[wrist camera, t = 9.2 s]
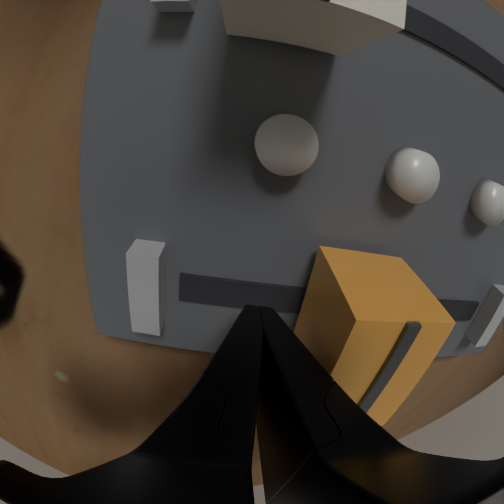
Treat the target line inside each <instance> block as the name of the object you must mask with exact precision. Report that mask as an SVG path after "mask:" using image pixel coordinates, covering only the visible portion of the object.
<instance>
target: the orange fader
mask: <svg viewBox="0 0 504 504" xmlns="http://www.w3.org/2000/svg"><path fill="white" fill-rule="evenodd" d="M455 324H456V322H455V321H454V320H453V318H452V317H451V316H450V314H449V313H448V312H447V311H446V309H445V308H444V307H443V306H442V304H441V303H440V302H439V301H438V300H437V298H436V297H435V296H434V295H433V293H432V292H431V291H430V290H429V289H428V288H427V286H426V285H425V284H424V283H423V282H422V280H421V279H420V278H419V277H418V276H417V275H416V274H415V272H414V271H413V270H412V269H411V268H410V267H409V266H408V265H407V263H406V262H405V261H404V260H403V259H402V258H401V257H394V256H388V255H381V254H374V253H367V252H361V251H354V250H347V249H340V248H333V247H326V246H319V248H318V252H317V255H316V259H315V263H314V266H313V270H312V273H311V277H310V280H309V283H308V287H307V290H306V294H305V297H304V300H303V303H302V307H301V310H300V313H299V316H298V320H297V323H296V326H295V329H294V333H295V335H296V336H297V337H298V338H299V339H300V340H301V342H302V343H303V344H304V345H305V346H306V347H307V349H308V350H309V351H310V352H311V353H312V354H313V356H314V357H315V358H316V359H317V360H318V361H319V363H320V364H321V365H322V366H323V367H324V368H325V370H326V371H327V372H328V373H329V374H330V375H331V376H332V378H333V379H334V380H333V381H336V382H337V383H338V384H339V386H340V387H341V388H342V389H343V390H344V391H345V392H346V393H347V394H348V395H349V397H350V398H351V399H352V400H353V401H354V402H355V403H356V404H357V405H358V406H359V407H360V408H361V409H362V410H364V411H365V412H366V413H367V414H368V415H369V416H370V417H371V418H372V419H373V420H374V421H376V422H377V423H378V424H379V425H380V426H382V425H384V424H385V423H386V422H387V421H388V420H389V419H390V417H391V416H392V415H393V414H394V412H395V411H396V410H397V409H398V408H399V406H400V405H401V404H402V403H403V401H404V400H405V399H406V397H407V396H408V395H409V393H410V392H411V391H412V389H413V388H414V387H415V385H416V384H417V383H418V381H419V380H420V379H421V377H422V376H423V374H424V373H425V371H426V370H427V368H428V367H429V366H430V364H431V363H432V361H433V360H434V358H435V356H436V355H437V353H438V352H439V350H440V349H441V347H442V346H443V344H444V342H445V341H446V339H447V337H448V336H449V334H450V332H451V331H452V329H453V327H454V325H455Z"/></svg>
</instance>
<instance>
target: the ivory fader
mask: <svg viewBox="0 0 504 504" xmlns="http://www.w3.org/2000/svg"><path fill="white" fill-rule="evenodd" d="M219 1H220V6H221V11H222V15H223V20H224V25H225V29H226V34H227V35H236V36H244V37H252V38H258V39H265V40H271V41H276V42H282V43H287V44H292V45H297V46H301V47H306V48H310V49H314V50H318V51H322V52H326V53H329V54H333V55H337V56H340V57H341V56H343V55H345V54H347V53H349V52H351V51H353V50H356V49H358V48H360V47H362V46H364V45H367V44H369V43H371V42H374V41H376V40H378V39H381V38H383V37H386V36H388V35H391V34H393V33H396V32H398V31H401V30H404V27H405V16H406V3H407V0H219Z"/></svg>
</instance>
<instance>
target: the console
mask: <svg viewBox="0 0 504 504" xmlns="http://www.w3.org/2000/svg"><path fill="white" fill-rule="evenodd" d="M80 204H81V222H82V236H83V247H84V256H85V265H86V273H87V280H88V287H89V293H90V299H91V305H92V311H93V316H94V321H95V326H96V331H97V333H98V334H102V335H107V336H112V337H117V338H122V339H127V340H132V341H137V342H143V343H148V344H154V345H160V346H167V347H173V348H180V349H187V350H194V351H202V352H210V353H215V352H216V351H217V349H218V348H219V346H220V345H221V343H222V341H223V340H224V338H225V337H226V335H227V333H228V332H229V330H230V329H231V327H232V325H233V324H234V322H235V321H236V319H237V317H238V316H239V314H240V313H241V311H242V309H243V308H244V306H245V305H247V304H248V305H257V306H267V307H272V308H273V309H274V310H275V311H276V312H277V313H278V315H279V316H280V317H281V318H282V319H283V320H284V322H285V323H286V324H287V325H288V326H289V328H290V329H291V330H292V331H293V332H294V329H295V326H296V323H297V320H298V316H299V313H300V310H301V307H302V303H303V300H304V297H305V294H306V290H307V287H308V283H309V280H310V277H311V273H312V270H313V266H314V263H315V259H316V255H317V252H318V248H319V246H326V247H333V248H340V249H347V250H354V251H361V252H367V253H374V254H381V255H388V256H394V257H401V258H402V259H403V260H404V261H405V262H406V263H407V265H408V266H409V267H410V268H411V269H412V270H413V271H414V272H415V274H416V275H417V276H418V277H419V278H420V279H421V280H422V282H423V283H424V284H425V285H426V286H427V288H428V289H429V290H430V291H431V292H432V293H433V295H434V296H435V297H436V298H437V300H438V301H439V302H440V303H441V304H442V306H443V307H444V308H445V309H446V311H447V312H448V313H449V314H450V316H451V317H452V318H453V320H454V321H455V322H456V324H455V325H454V327H453V329H452V331H451V332H450V334H449V336H448V337H447V339H446V341H445V342H444V344H443V346H442V347H441V349H440V350H439V352H438V353H437V355H436V356H435V358H436V357H447V356H457V355H466V354H475V353H482V352H484V350H485V349H486V347H487V346H488V344H489V343H490V341H491V339H492V338H493V336H494V335H495V333H496V331H497V330H498V328H499V326H500V325H501V323H502V321H503V319H504V16H502V15H501V14H500V13H499V12H498V11H496V10H495V9H494V8H493V7H491V6H490V5H489V4H487V3H486V2H485V1H484V0H407V3H406V16H405V27H404V30H401V31H398V32H396V33H393V34H391V35H388V36H386V37H383V38H381V39H378V40H376V41H374V42H371V43H369V44H367V45H364V46H362V47H360V48H358V49H356V50H353V51H351V52H349V53H347V54H345V55H343V56H341V57H340V56H337V55H333V54H329V53H326V52H322V51H318V50H314V49H310V48H306V47H301V46H297V45H292V44H287V43H282V42H276V41H271V40H265V39H258V38H252V37H244V36H236V35H227V34H226V29H225V25H224V20H223V15H222V11H221V6H220V1H219V0H102V1H101V5H100V9H99V13H98V17H97V21H96V26H95V30H94V35H93V40H92V45H91V50H90V56H89V62H88V68H87V75H86V82H85V91H84V100H83V110H82V123H81V141H80Z"/></svg>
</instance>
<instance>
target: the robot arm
mask: <svg viewBox="0 0 504 504" xmlns="http://www.w3.org/2000/svg"><path fill="white" fill-rule="evenodd" d="M333 380H334V379H333V378H332V376H331V375H330V374H329V373H328V372H327V371H326V370H325V368H324V367H323V366H322V365H321V364H320V363H319V361H318V360H317V359H316V358H315V357H314V356H313V354H312V353H311V352H310V351H309V350H308V349H307V347H306V346H305V345H304V344H303V343H302V342H301V340H300V339H299V338H298V337H297V336H296V335H295V333H294V332H293V331H292V330H291V329H290V328H289V326H288V325H287V324H286V323H285V322H284V320H283V319H282V318H281V317H280V316H279V315H278V313H277V312H276V311H275V310H274V309H273V308H272V307H267V306H257V305H248V304H247V305H245V306H244V308H243V309H242V311H241V313H240V314H239V316H238V317H237V319H236V321H235V322H234V324H233V325H232V327H231V329H230V330H229V332H228V333H227V335H226V337H225V338H224V340H223V341H222V343H221V345H220V346H219V348H218V349H217V351H216V352H215V354H214V356H213V357H212V359H211V360H210V362H209V363H208V365H207V367H206V368H205V370H204V371H203V373H202V374H201V376H200V377H199V379H198V380H197V382H196V383H195V385H194V386H193V388H192V389H191V390H190V392H189V393H188V395H187V396H186V397H185V398H184V399H183V401H182V402H181V403H180V404H179V405H178V406H177V408H176V409H175V410H174V411H173V412H172V413H171V414H170V415H169V416H168V417H167V418H166V419H165V420H164V422H163V423H162V424H161V425H160V426H159V427H158V428H157V429H156V430H155V431H154V432H153V433H152V434H151V435H150V436H149V437H148V438H147V439H146V440H145V441H144V442H143V443H142V444H141V445H140V446H138V447H137V448H136V449H135V450H133V451H132V452H130V453H128V454H126V455H124V456H122V457H119V458H117V459H114V460H112V461H110V462H107V463H105V464H102V465H99V466H97V467H94V468H91V469H89V470H86V471H83V472H80V473H78V474H75V475H72V476H68V477H63V478H48V477H42V476H39V475H36V474H34V473H32V472H29V471H27V470H26V469H23V468H21V467H20V466H17V465H15V464H13V463H11V462H9V461H5V460H1V461H0V499H1V500H2V501H4V502H6V503H7V504H255V503H254V493H253V483H252V472H251V471H252V455H253V453H252V451H253V445H254V435H255V425H257V434H258V442H259V451H260V460H261V468H262V476H263V485H264V493H265V501H266V504H504V457H503V458H500V459H497V460H490V461H479V460H469V459H460V458H452V457H445V456H439V455H432V454H427V453H421V452H417V451H414V450H412V449H409V448H407V447H406V446H404V445H402V444H401V443H400V442H398V441H397V440H396V439H395V438H394V437H393V436H391V435H390V434H389V433H388V432H387V431H386V430H385V429H383V428H382V427H381V426H380V425H379V424H378V423H377V422H376V421H374V420H373V419H372V418H371V417H370V416H369V415H368V414H367V413H366V412H365V411H364V410H362V409H361V408H360V407H359V406H358V405H357V404H356V403H355V402H354V401H353V400H352V399H351V398H350V397H349V395H348V394H347V393H346V392H345V391H344V390H343V389H342V388H341V387H340V386H339V384H338V383H337V382H336V381H333Z"/></svg>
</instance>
